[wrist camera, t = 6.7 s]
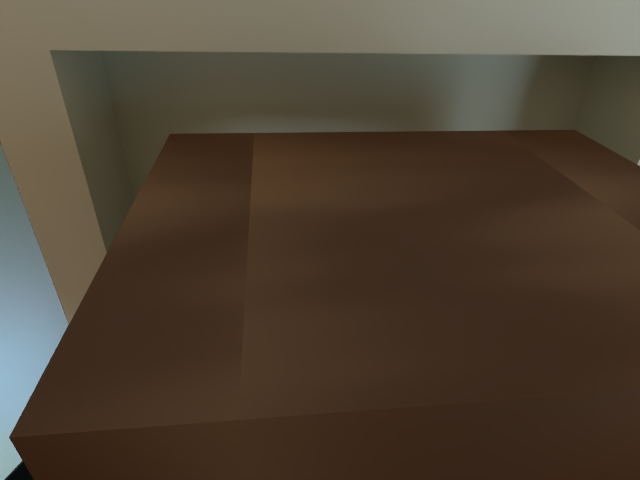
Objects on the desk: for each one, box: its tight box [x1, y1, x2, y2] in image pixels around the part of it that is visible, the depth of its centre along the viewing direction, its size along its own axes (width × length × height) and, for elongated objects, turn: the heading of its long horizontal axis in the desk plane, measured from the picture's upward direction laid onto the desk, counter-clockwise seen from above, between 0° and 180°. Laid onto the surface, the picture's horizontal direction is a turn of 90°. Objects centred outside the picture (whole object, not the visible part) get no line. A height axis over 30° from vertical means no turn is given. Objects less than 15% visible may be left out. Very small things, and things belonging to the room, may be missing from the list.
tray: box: [0, 0, 640, 324], centre depth 10 cm, size 11×11×2 cm
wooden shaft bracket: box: [9, 130, 640, 480], centre depth 7 cm, size 6×6×5 cm
